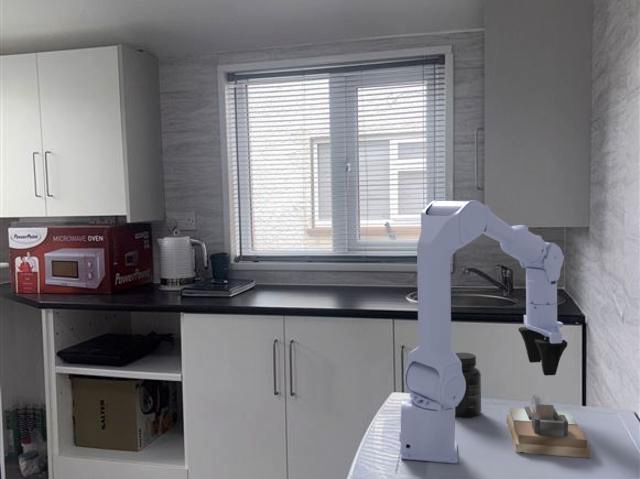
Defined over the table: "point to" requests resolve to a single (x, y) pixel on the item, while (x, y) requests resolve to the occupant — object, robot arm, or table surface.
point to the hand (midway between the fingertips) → (542, 368)
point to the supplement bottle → (469, 388)
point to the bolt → (542, 407)
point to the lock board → (547, 434)
